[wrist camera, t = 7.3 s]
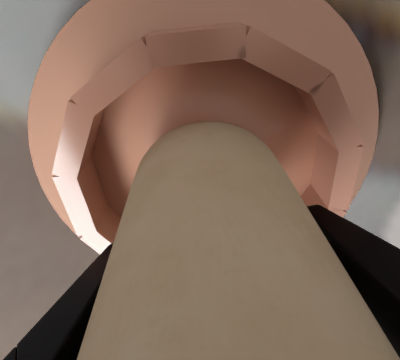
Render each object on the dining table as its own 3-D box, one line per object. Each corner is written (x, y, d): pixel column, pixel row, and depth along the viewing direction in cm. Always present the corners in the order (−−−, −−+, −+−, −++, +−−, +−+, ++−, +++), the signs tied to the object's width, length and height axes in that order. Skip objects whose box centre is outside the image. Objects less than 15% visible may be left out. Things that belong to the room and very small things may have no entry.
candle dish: (407, 190, 13) (446, 223, 11) (176, 303, 17) (175, 343, 15) (275, -174, 7) (311, -245, 5) (-42, 130, 11) (-94, 158, 9)
